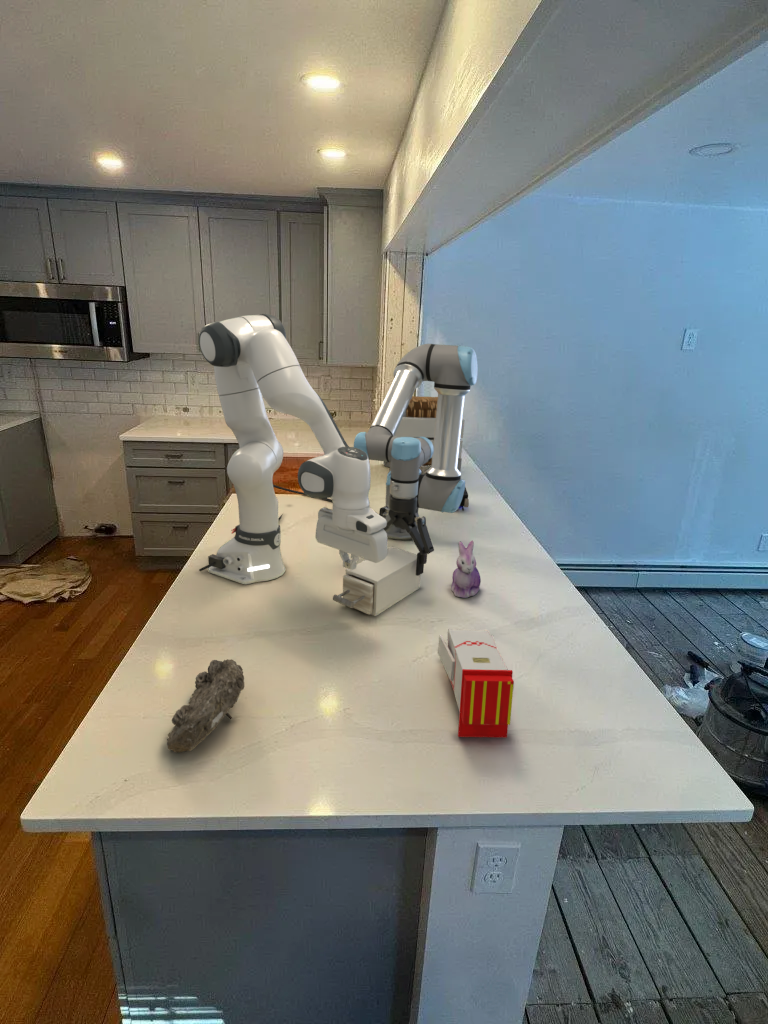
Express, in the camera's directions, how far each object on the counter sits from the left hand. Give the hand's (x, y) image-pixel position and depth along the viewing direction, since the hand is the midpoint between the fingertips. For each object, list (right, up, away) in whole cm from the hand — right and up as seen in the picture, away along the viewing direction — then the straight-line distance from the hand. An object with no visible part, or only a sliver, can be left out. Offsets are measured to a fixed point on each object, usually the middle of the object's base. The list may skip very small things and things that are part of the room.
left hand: (349, 567), depth 140 cm
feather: (-29, +12, +69) cm, 76 cm away
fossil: (-24, -25, -32) cm, 48 cm away
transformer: (+26, +33, +135) cm, 141 cm away
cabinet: (+8, -9, +16) cm, 21 cm away
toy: (+26, -24, -22) cm, 42 cm away
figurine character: (+39, +16, +90) cm, 99 cm away
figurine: (+32, -9, +21) cm, 39 cm away
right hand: (+13, -2, +19) cm, 23 cm away
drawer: (+5, -10, +12) cm, 16 cm away
